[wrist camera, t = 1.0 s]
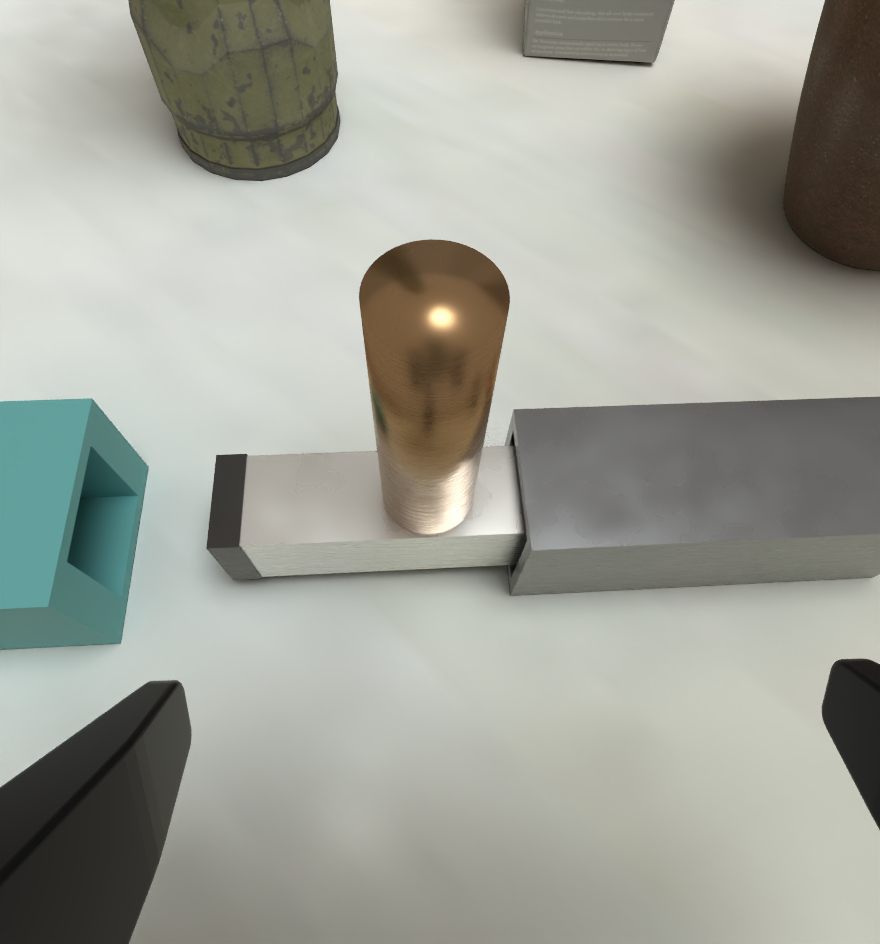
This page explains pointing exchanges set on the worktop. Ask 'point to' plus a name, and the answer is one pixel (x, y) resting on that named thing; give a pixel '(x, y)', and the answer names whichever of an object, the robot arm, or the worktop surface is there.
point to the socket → (65, 524)
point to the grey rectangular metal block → (697, 494)
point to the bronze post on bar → (393, 442)
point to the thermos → (245, 80)
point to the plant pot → (839, 138)
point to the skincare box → (596, 29)
